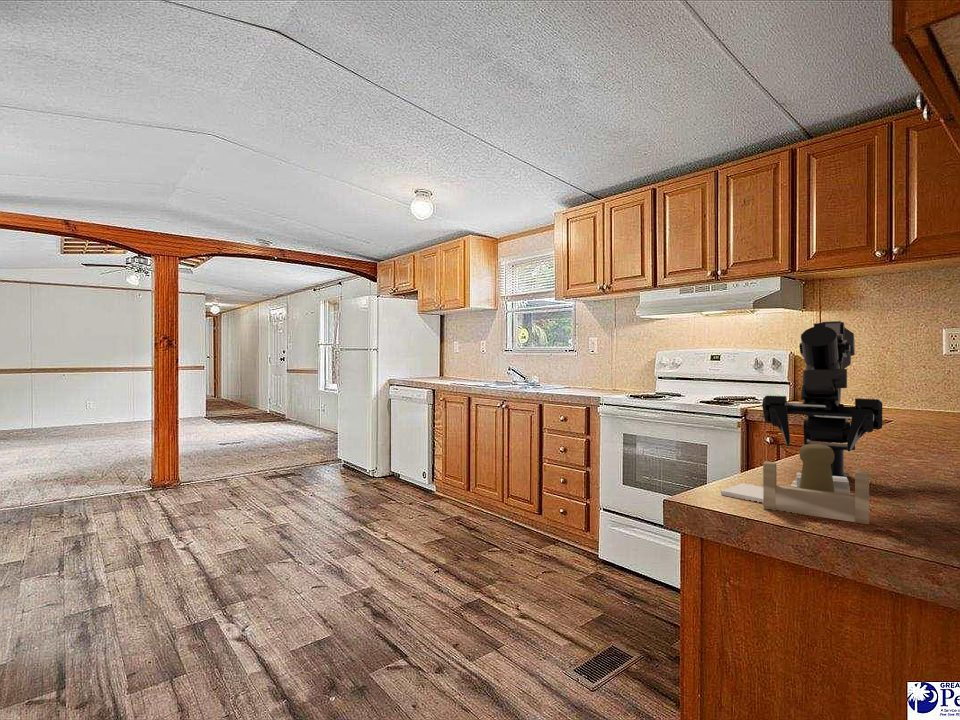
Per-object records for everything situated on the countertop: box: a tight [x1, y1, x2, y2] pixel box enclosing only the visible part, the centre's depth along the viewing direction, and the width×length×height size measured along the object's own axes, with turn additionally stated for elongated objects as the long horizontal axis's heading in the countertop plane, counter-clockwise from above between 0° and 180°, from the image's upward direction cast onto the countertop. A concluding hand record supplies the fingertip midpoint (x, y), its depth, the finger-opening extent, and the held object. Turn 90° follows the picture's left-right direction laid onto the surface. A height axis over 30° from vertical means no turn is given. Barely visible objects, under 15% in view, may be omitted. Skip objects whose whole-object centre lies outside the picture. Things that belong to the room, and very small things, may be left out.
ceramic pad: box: [720, 483, 763, 504], centre depth 100 cm, size 8×8×1 cm
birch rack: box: [762, 460, 870, 525], centre depth 88 cm, size 2×15×8 cm, turn 54°
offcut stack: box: [789, 472, 851, 494], centre depth 98 cm, size 5×9×4 cm, turn 53°
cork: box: [798, 444, 835, 493], centre depth 92 cm, size 6×6×11 cm
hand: (817, 447), depth 94 cm, fingers open, 9 cm apart
